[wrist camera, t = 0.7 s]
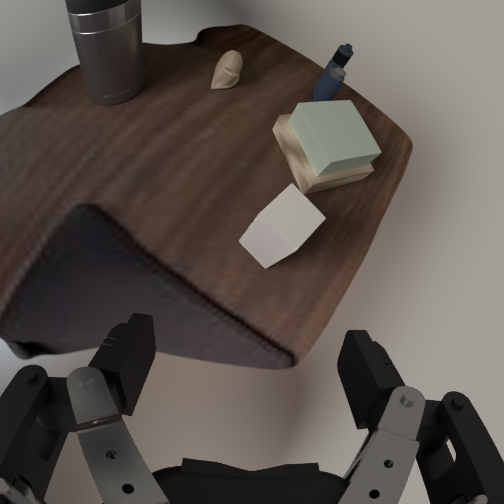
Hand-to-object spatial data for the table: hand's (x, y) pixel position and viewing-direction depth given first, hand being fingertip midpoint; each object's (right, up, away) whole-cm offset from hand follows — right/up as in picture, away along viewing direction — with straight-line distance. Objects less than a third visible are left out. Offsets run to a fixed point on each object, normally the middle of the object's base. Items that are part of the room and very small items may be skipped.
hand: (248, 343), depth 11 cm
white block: (+2, +5, +24) cm, 25 cm away
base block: (+10, +18, +30) cm, 36 cm away
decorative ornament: (-4, +31, +29) cm, 43 cm away
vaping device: (+12, +30, +33) cm, 46 cm away
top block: (+11, +19, +26) cm, 34 cm away
